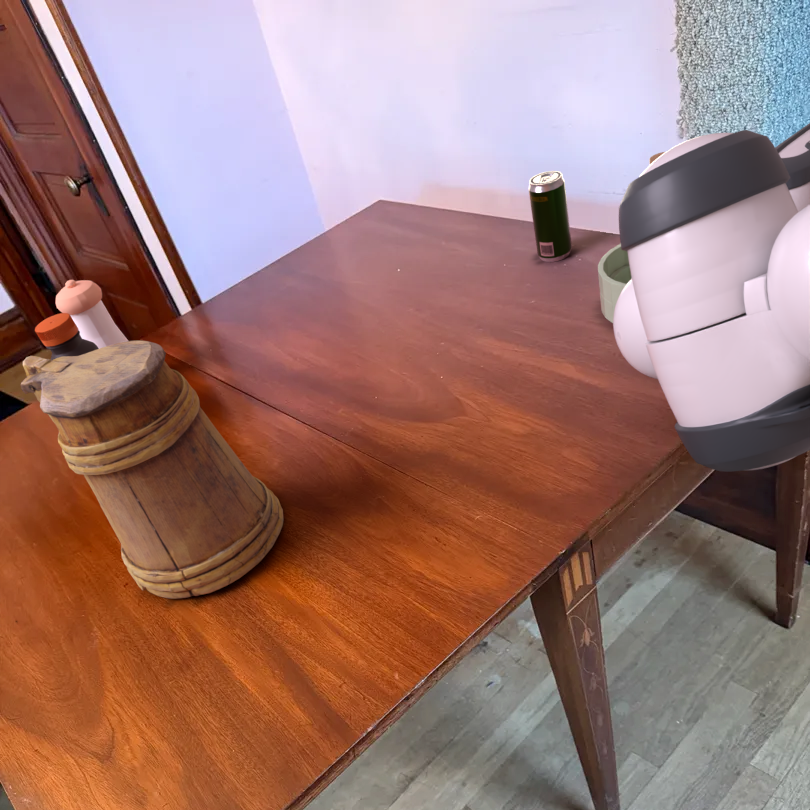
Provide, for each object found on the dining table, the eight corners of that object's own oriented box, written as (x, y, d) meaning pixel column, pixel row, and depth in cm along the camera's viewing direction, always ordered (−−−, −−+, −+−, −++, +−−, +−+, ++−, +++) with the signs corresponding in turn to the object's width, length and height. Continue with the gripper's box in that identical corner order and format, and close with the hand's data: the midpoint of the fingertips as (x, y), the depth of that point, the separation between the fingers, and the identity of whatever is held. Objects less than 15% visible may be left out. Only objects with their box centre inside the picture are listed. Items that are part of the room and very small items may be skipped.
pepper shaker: (103, 400, 124) (36, 293, 111) (131, 375, 128) (70, 269, 115) (133, 402, 120) (67, 293, 108) (161, 377, 124) (101, 268, 112)
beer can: (567, 261, 117) (558, 183, 109) (534, 264, 119) (523, 187, 111) (575, 245, 120) (567, 168, 112) (543, 248, 122) (532, 172, 114)
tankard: (230, 615, 79) (107, 424, 62) (79, 583, 90) (-60, 413, 73) (312, 500, 89) (225, 311, 73) (168, 484, 100) (64, 316, 84)
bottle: (136, 423, 115) (64, 305, 102) (157, 435, 111) (84, 313, 97) (99, 448, 112) (20, 330, 99) (119, 462, 108) (38, 340, 95)
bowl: (748, 290, 98) (751, 242, 93) (665, 346, 93) (664, 298, 89) (656, 266, 108) (654, 222, 104) (578, 315, 104) (573, 271, 100)
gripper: (769, 284, 82) (640, 289, 89) (788, 204, 94) (673, 213, 101) (773, 228, 78) (637, 237, 84) (792, 151, 90) (672, 165, 96)
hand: (657, 224), depth 93 cm, fingers closed on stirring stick, 3 cm apart
